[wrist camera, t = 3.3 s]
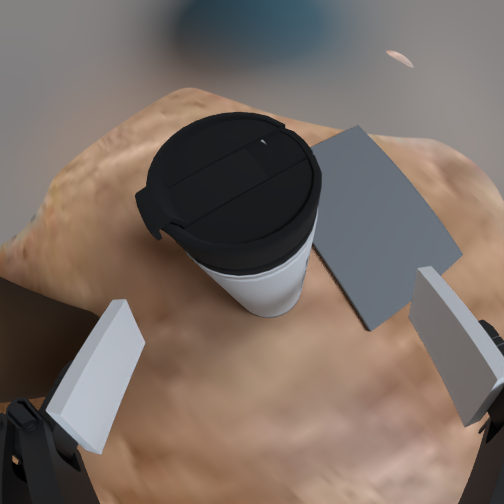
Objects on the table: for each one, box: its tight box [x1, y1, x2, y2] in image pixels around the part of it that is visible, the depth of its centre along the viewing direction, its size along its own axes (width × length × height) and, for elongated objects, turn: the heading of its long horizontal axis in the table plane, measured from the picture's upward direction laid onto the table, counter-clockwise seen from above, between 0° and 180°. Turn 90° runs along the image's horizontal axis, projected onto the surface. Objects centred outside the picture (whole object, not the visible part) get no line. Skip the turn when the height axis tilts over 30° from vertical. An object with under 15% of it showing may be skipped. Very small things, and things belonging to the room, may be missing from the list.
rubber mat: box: [311, 125, 463, 332], centre depth 29 cm, size 20×14×1 cm
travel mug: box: [135, 112, 322, 318], centre depth 19 cm, size 6×7×20 cm
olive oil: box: [0, 277, 100, 403], centre depth 16 cm, size 11×11×25 cm
